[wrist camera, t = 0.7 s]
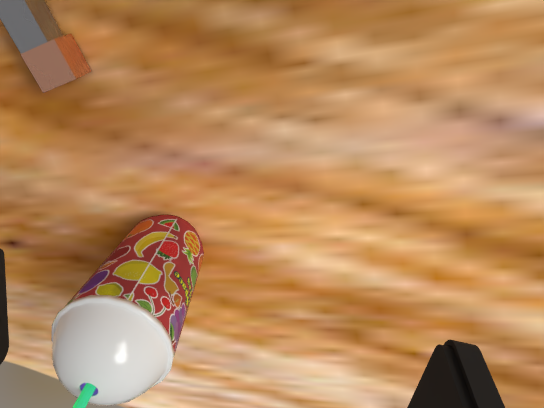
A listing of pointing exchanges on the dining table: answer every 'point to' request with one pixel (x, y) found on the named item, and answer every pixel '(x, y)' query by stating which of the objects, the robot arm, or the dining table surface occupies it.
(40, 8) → the tongs moving jaw
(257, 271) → the dining table surface
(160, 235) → the smoothie
